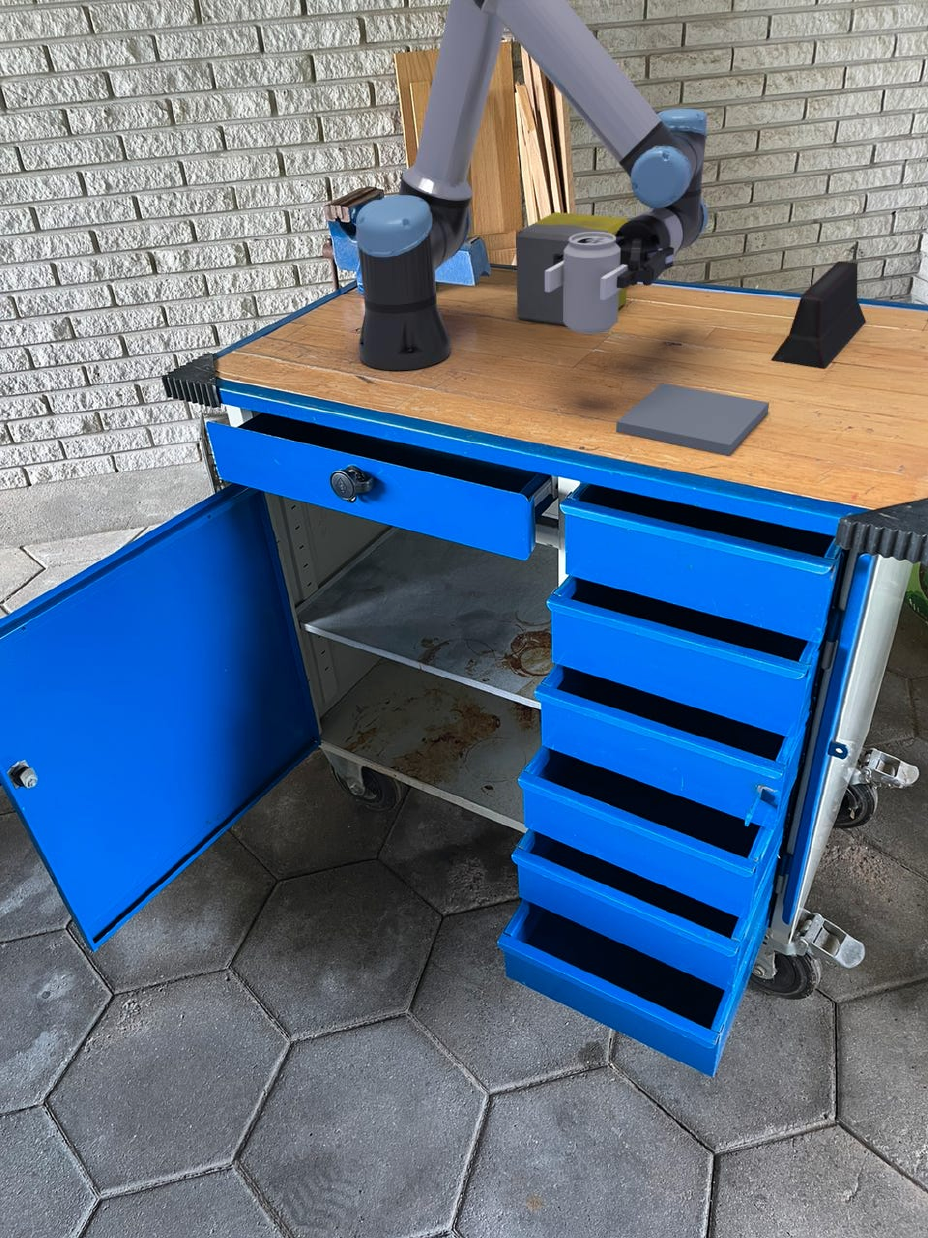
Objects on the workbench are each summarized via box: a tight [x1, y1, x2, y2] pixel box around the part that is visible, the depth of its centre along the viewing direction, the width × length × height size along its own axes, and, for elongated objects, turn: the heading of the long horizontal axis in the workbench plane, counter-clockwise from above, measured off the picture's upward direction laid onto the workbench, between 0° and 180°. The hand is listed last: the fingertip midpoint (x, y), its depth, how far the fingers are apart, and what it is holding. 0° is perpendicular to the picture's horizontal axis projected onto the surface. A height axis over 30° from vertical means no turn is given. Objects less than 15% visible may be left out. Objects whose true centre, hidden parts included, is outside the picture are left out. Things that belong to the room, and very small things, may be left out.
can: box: [563, 232, 621, 335], centre depth 130 cm, size 8×8×12 cm
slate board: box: [615, 382, 770, 456], centre depth 132 cm, size 16×15×2 cm
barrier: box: [770, 260, 867, 370], centre depth 153 cm, size 24×9×10 cm, turn 147°
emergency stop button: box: [515, 211, 629, 326], centre depth 171 cm, size 15×24×15 cm, turn 149°
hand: (574, 285), depth 126 cm, fingers closed on can, 7 cm apart
